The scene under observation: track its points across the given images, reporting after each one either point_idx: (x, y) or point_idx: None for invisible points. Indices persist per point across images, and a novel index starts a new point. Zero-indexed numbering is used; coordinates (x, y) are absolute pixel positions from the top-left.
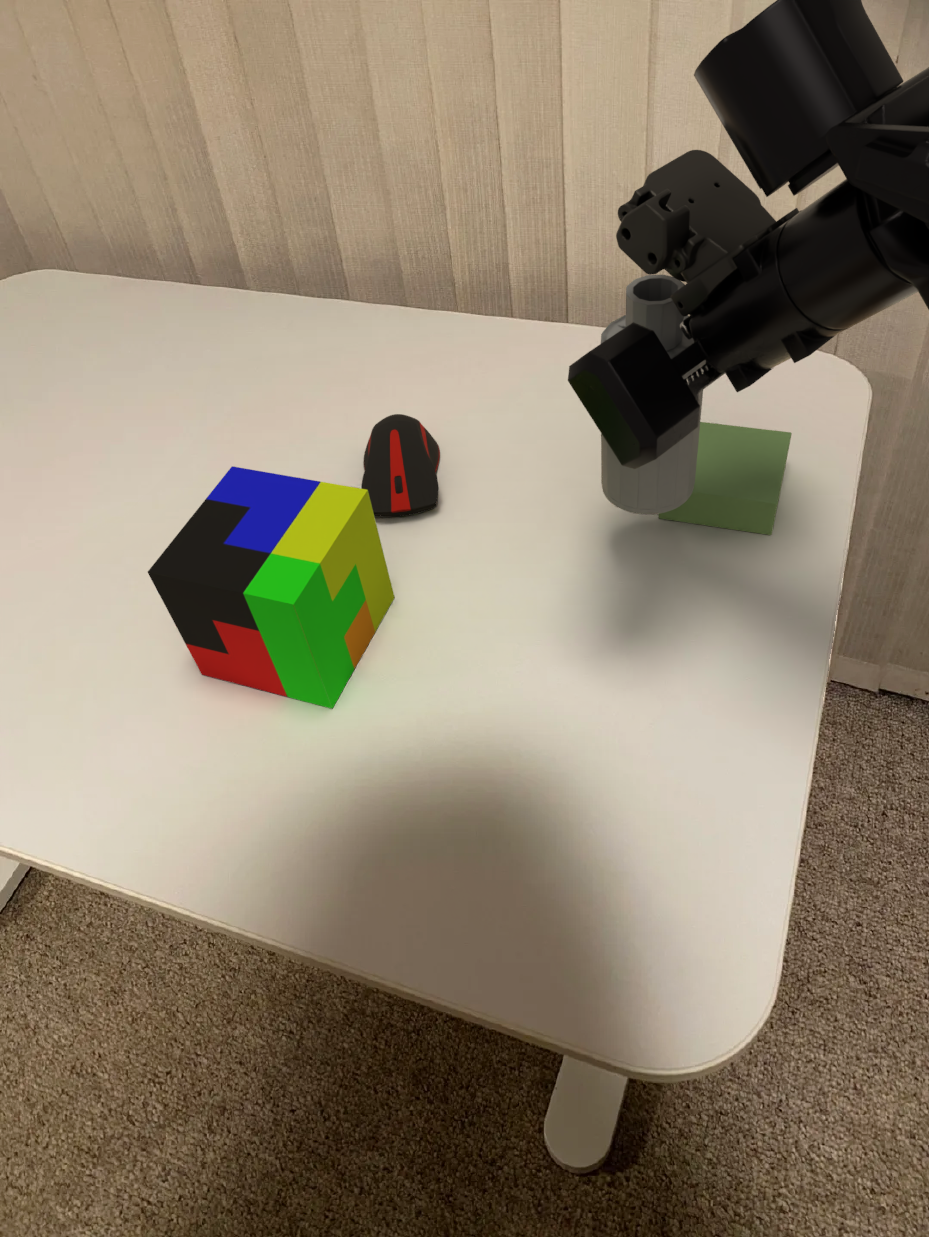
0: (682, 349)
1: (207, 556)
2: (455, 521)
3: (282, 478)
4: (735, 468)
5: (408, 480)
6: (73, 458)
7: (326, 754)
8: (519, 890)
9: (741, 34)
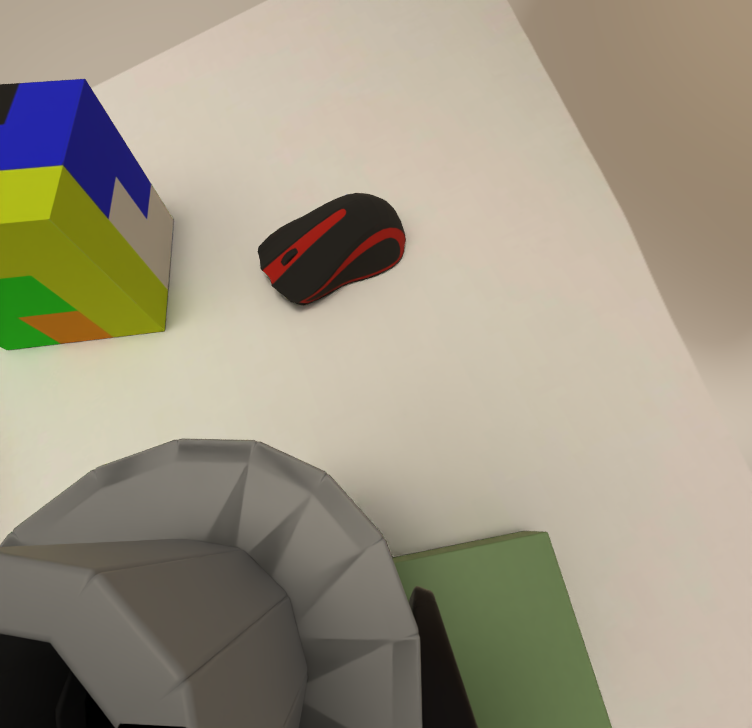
0: None
1: None
2: (292, 332)
3: (66, 128)
4: (479, 674)
5: (297, 262)
6: (264, 38)
7: None
8: None
9: None
